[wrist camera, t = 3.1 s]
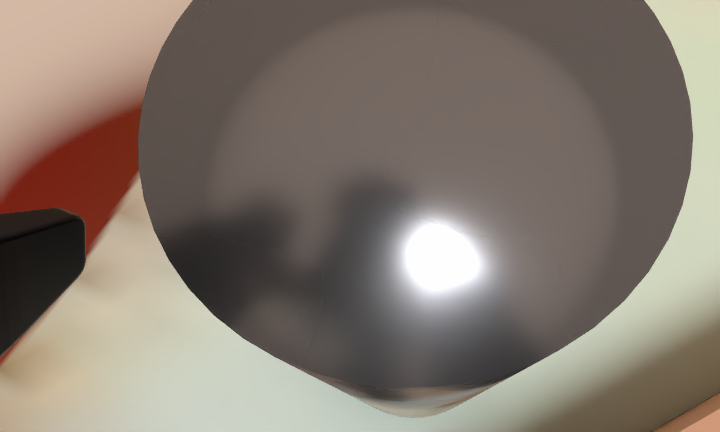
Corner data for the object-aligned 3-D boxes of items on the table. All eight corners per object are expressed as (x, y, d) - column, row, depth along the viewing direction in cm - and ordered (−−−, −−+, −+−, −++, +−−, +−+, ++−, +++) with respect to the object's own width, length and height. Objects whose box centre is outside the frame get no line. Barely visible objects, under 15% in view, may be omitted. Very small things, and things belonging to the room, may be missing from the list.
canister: (377, 450, 16) (268, 512, 4) (301, 295, 18) (72, 27, 6) (530, 365, 17) (824, 203, 5) (442, 221, 19) (494, -170, 6)
